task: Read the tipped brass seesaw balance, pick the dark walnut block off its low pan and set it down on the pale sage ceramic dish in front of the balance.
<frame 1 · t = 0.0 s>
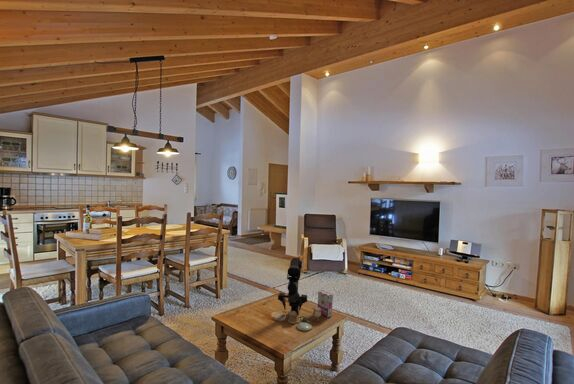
hand: (292, 310, 194), 15 cm above the table, fingers open, 9 cm apart
candy bar box: (324, 314, 224), on the table
walnut block: (292, 320, 209), point 2 cm above the table, touching balance
balance: (304, 321, 211), on the table
oak block: (317, 313, 213), point 5 cm above the table, touching balance
sage dish: (304, 327, 202), on the table
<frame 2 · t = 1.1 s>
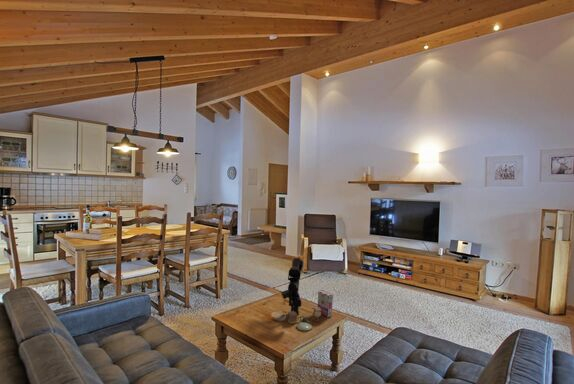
hand: (292, 308, 209), 10 cm above the table, fingers open, 9 cm apart
nothing on the table moved.
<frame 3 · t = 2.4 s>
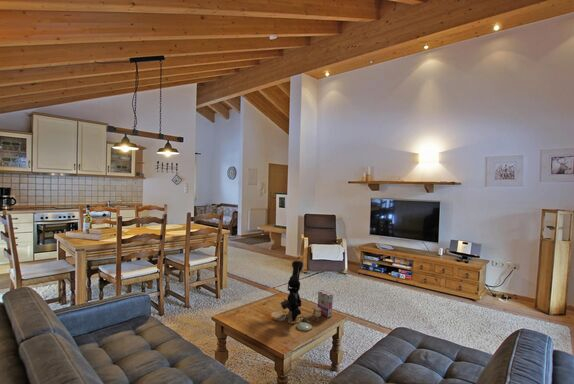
hand: (292, 319, 209), 2 cm above the table, fingers closed on walnut block, 5 cm apart
walnut block: (292, 320, 209), point 2 cm above the table, touching balance, gripper
everything else where it was.
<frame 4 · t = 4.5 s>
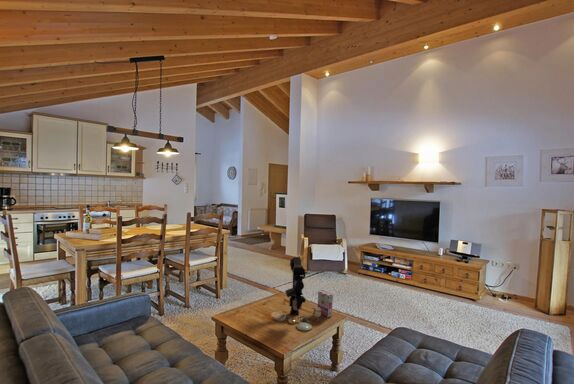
hand: (297, 307, 206), 12 cm above the table, fingers closed on walnut block, 5 cm apart
walnut block: (297, 308, 206), point 11 cm above the table, touching gripper
everything else where it was.
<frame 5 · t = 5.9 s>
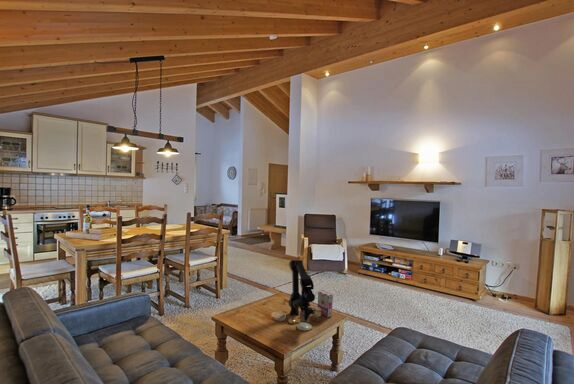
hand: (304, 318, 202), 6 cm above the table, fingers closed on walnut block, 5 cm apart
walnut block: (304, 319, 202), point 5 cm above the table, touching gripper
everything else where it was.
when the fingers open (3 cm above the table, at t = 6.9 s): walnut block drops 1 cm, resting on sage dish.
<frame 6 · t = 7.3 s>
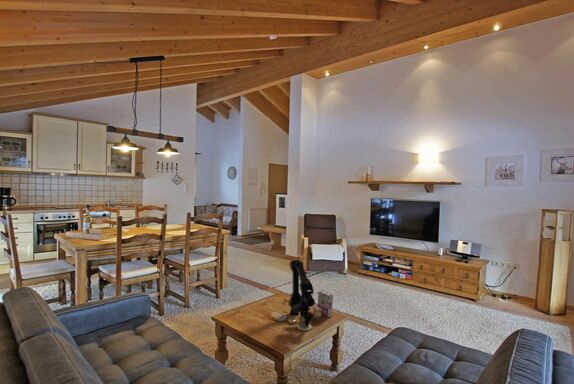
hand: (304, 323, 202), 3 cm above the table, fingers open, 9 cm apart
walnut block: (304, 326, 202), point 1 cm above the table, touching sage dish
everything else where it was.
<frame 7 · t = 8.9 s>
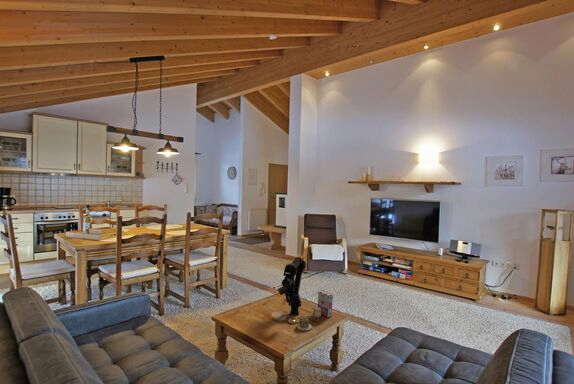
hand: (289, 304, 210), 12 cm above the table, fingers open, 9 cm apart
nothing on the table moved.
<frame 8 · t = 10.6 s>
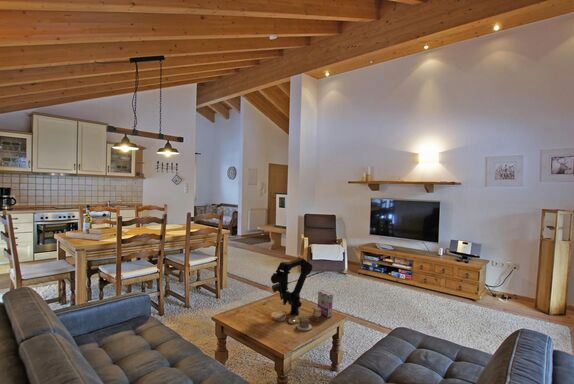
hand: (282, 302, 213), 12 cm above the table, fingers open, 9 cm apart
nothing on the table moved.
at the end: walnut block inside the target area on the sage dish (0.1 cm from its centre), point 1.0 cm above the sage dish's base; walnut block tilted 0°; the gripper is holding nothing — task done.
